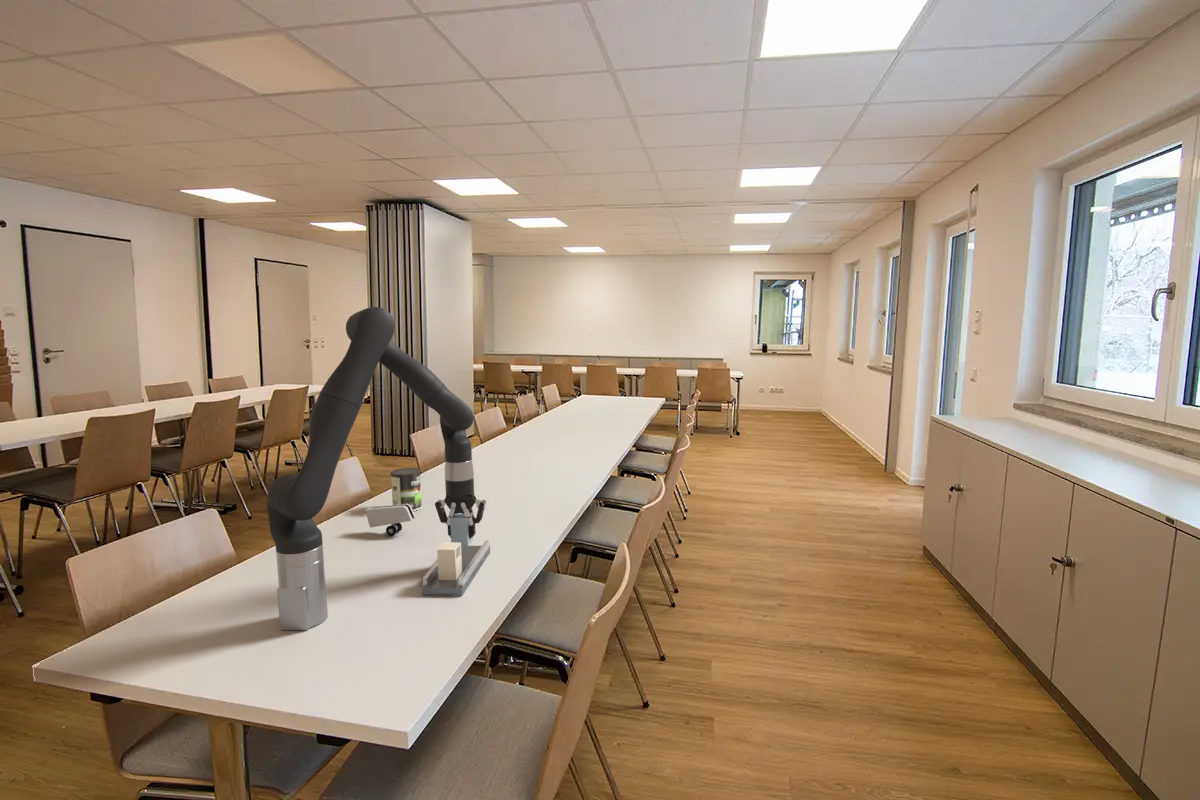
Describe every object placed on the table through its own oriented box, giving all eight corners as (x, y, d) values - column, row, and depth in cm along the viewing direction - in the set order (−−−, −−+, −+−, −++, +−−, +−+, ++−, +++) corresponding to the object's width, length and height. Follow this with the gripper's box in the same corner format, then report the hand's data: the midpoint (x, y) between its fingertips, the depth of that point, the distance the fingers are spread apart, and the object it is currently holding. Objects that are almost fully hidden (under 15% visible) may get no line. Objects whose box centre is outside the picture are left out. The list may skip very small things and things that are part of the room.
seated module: (456, 580, 146) (455, 549, 145) (438, 580, 146) (437, 549, 145) (462, 572, 151) (461, 542, 150) (444, 571, 151) (443, 542, 150)
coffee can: (426, 504, 217) (425, 468, 215) (413, 513, 206) (411, 474, 205) (401, 504, 218) (399, 467, 216) (387, 512, 208) (384, 474, 206)
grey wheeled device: (371, 539, 185) (413, 532, 182) (364, 509, 184) (406, 502, 181) (378, 534, 189) (419, 528, 186) (371, 506, 188) (412, 498, 185)
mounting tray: (462, 596, 142) (461, 580, 141) (421, 595, 142) (421, 579, 142) (490, 552, 169) (489, 539, 169) (456, 552, 170) (456, 538, 169)
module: (468, 546, 156) (466, 518, 155) (451, 546, 157) (449, 518, 156) (473, 540, 161) (471, 512, 160) (456, 540, 162) (455, 512, 161)
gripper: (428, 480, 153) (431, 542, 155) (481, 480, 153) (484, 542, 155) (438, 473, 161) (440, 532, 163) (488, 473, 160) (491, 532, 162)
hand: (462, 536), depth 159 cm, fingers closed on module, 4 cm apart
